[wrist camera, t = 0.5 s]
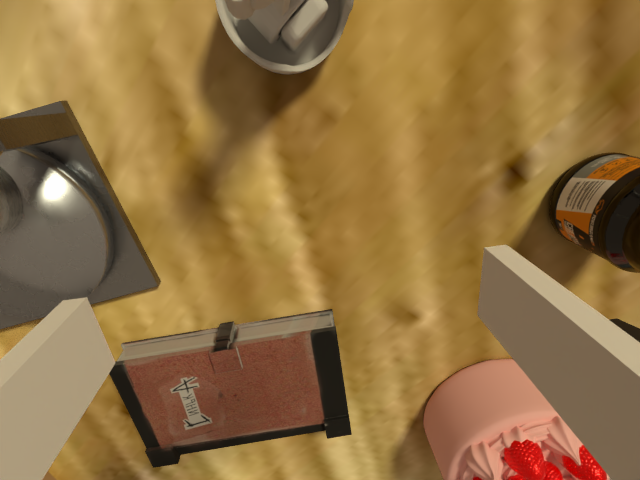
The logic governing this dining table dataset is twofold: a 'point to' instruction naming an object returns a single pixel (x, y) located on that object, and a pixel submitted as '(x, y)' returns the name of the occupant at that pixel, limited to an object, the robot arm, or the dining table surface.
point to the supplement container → (601, 208)
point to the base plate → (129, 255)
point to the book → (234, 385)
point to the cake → (502, 429)
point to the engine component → (285, 30)
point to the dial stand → (34, 130)
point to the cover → (9, 203)
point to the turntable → (51, 237)
